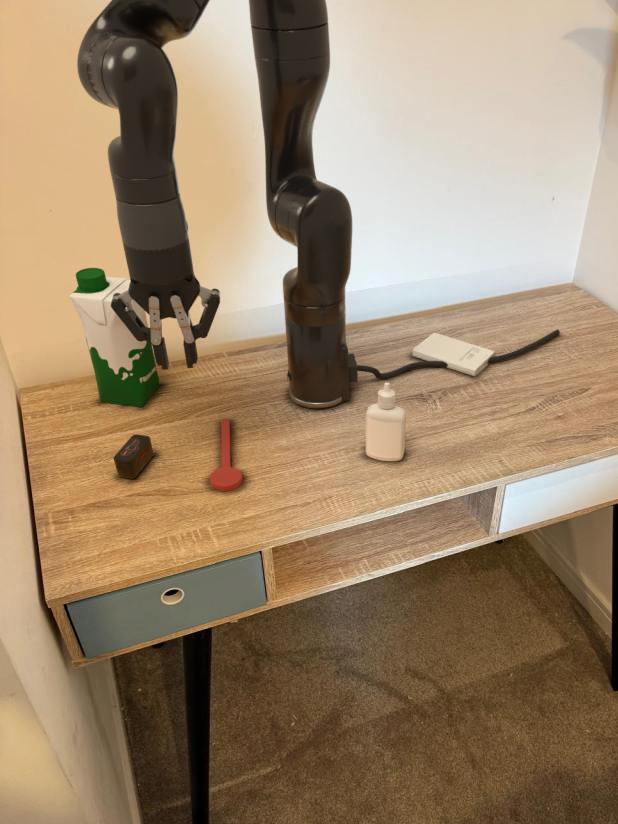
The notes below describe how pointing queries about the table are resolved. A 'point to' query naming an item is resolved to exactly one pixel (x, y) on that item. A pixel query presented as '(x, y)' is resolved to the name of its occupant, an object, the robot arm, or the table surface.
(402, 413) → the eye dropper bottle
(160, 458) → the table surface
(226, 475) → the spoon
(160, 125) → the robot arm
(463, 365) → the hard drive
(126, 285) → the milk carton
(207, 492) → the table surface
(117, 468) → the black gauge box
